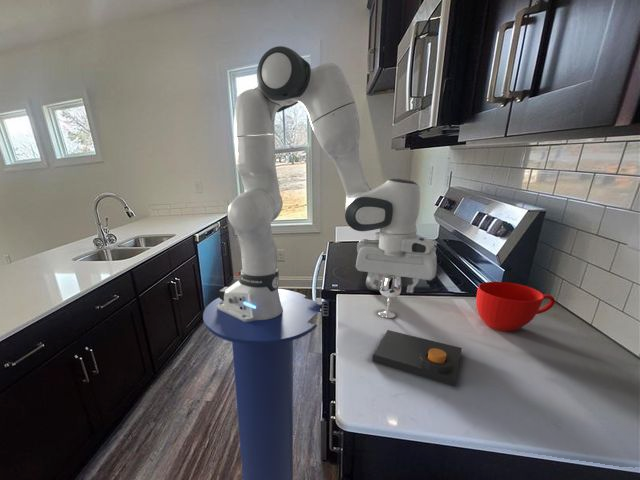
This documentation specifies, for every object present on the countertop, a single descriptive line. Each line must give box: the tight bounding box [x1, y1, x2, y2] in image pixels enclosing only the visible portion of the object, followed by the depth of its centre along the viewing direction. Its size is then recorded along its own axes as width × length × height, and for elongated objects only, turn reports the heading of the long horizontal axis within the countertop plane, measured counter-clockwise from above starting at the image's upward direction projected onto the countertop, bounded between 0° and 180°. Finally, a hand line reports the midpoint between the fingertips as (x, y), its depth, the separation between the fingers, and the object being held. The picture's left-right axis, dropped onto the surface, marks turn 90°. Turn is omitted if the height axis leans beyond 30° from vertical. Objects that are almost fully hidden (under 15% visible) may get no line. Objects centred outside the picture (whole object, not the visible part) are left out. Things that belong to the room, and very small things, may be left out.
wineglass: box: [378, 274, 403, 319], centre depth 91 cm, size 6×6×12 cm
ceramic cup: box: [475, 281, 556, 332], centre depth 82 cm, size 13×17×10 cm
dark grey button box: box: [371, 329, 463, 387], centre depth 72 cm, size 16×13×4 cm
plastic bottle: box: [365, 231, 384, 292], centre depth 107 cm, size 6×7×20 cm
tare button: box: [428, 348, 447, 364], centre depth 67 cm, size 3×3×2 cm
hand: (391, 289), depth 90 cm, fingers open, 8 cm apart
